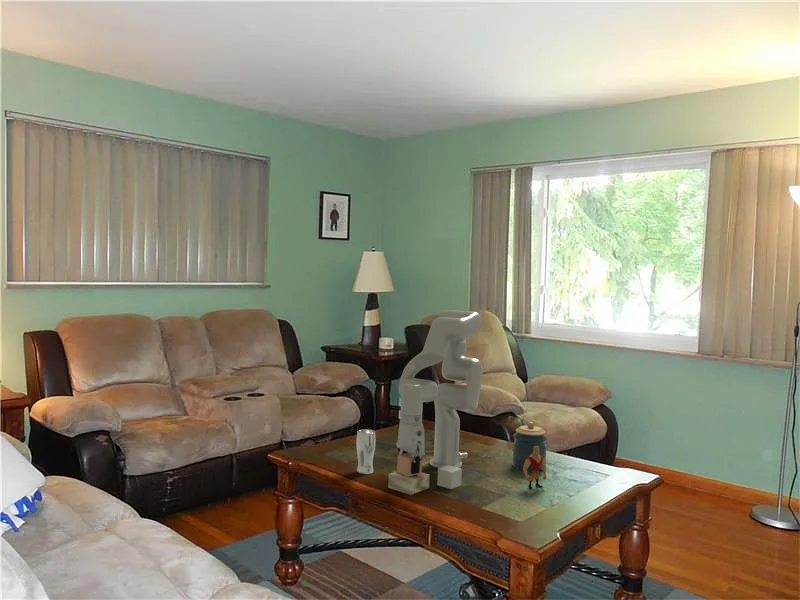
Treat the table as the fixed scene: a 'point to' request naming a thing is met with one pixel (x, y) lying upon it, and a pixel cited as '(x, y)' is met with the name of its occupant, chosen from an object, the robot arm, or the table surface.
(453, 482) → the grey block
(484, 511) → the table surface
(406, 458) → the terracotta block
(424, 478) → the ash base block
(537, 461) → the action figure
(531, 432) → the canister
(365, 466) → the beer glass
